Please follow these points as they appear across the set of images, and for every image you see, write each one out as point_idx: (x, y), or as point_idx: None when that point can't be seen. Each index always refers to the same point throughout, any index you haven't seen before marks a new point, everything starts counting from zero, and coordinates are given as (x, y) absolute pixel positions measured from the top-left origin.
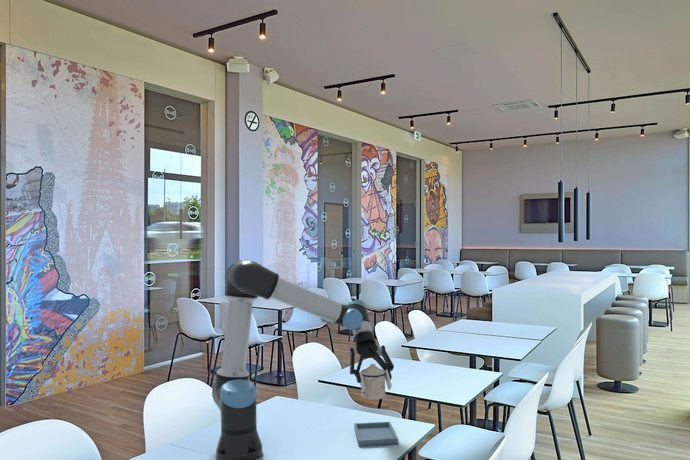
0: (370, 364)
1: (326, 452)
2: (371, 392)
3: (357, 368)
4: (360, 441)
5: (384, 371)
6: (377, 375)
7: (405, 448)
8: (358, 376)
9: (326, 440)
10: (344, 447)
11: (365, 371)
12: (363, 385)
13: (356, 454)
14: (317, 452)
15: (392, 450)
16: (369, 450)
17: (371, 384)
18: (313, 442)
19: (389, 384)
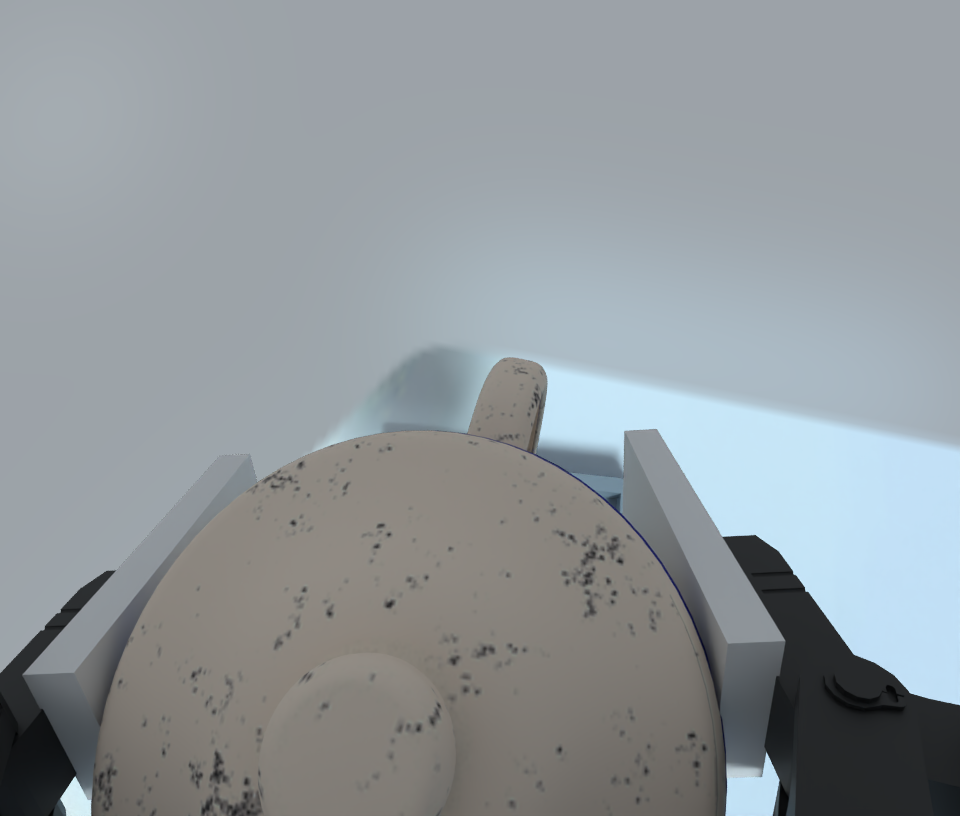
0: (427, 801)
1: (838, 450)
2: (538, 430)
3: (896, 762)
4: (622, 480)
5: (145, 607)
6: (385, 438)
7: (368, 403)
8: (781, 601)
9: (849, 648)
10: (721, 497)
11: (622, 637)
12: (659, 450)
13: (657, 387)
14: (897, 462)
15: (446, 393)
16: (574, 421)
17: (542, 372)
18: (946, 635)
19: (240, 466)
